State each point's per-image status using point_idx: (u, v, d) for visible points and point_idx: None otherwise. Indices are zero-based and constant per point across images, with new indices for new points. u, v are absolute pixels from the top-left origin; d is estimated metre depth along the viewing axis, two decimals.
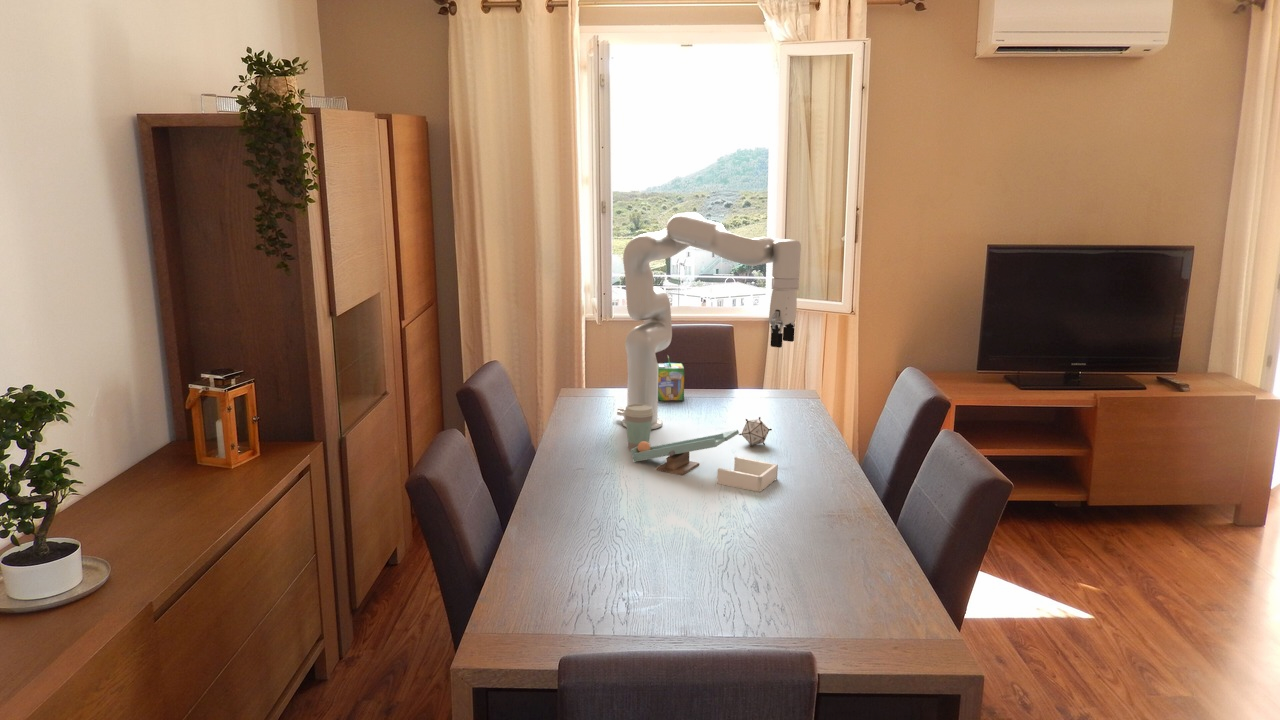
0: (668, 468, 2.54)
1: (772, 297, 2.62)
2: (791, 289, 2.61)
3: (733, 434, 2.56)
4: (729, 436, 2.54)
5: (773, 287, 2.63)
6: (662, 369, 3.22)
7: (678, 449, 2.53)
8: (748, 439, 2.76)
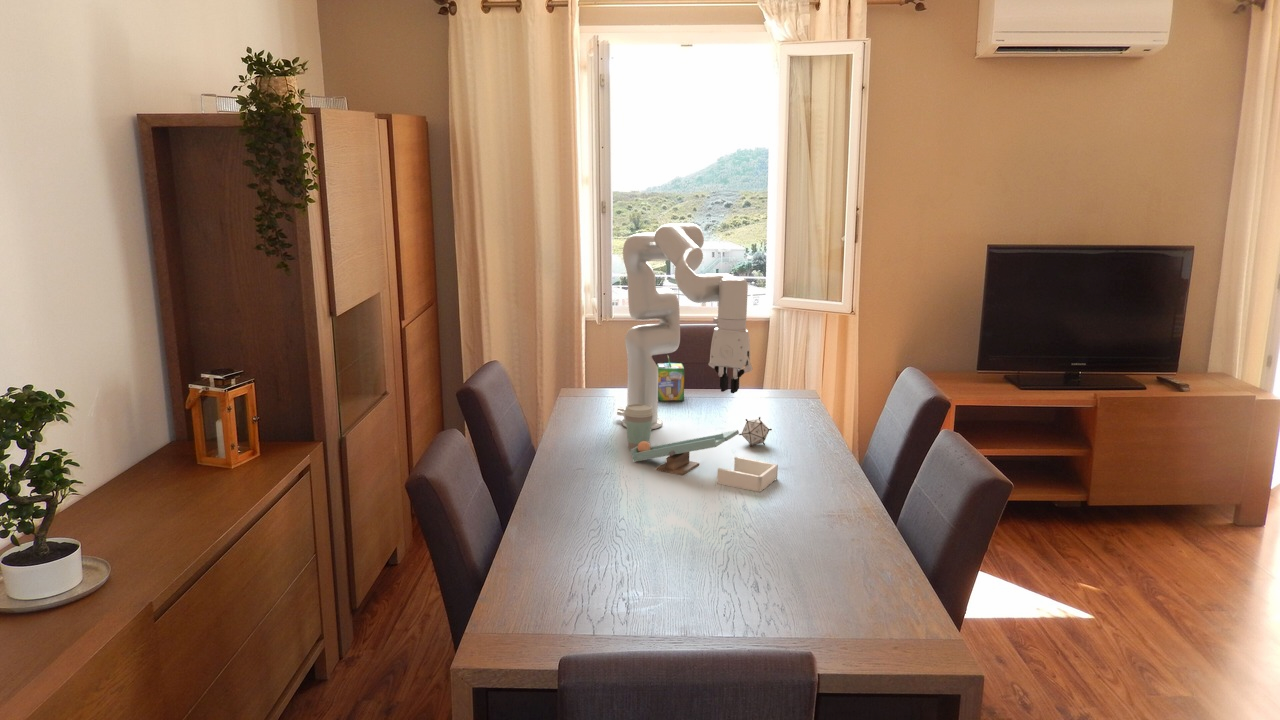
0: (668, 468, 2.54)
1: (744, 340, 2.48)
2: None
3: (733, 434, 2.56)
4: (729, 436, 2.54)
5: (737, 330, 2.48)
6: (662, 369, 3.22)
7: (678, 449, 2.53)
8: (748, 439, 2.76)
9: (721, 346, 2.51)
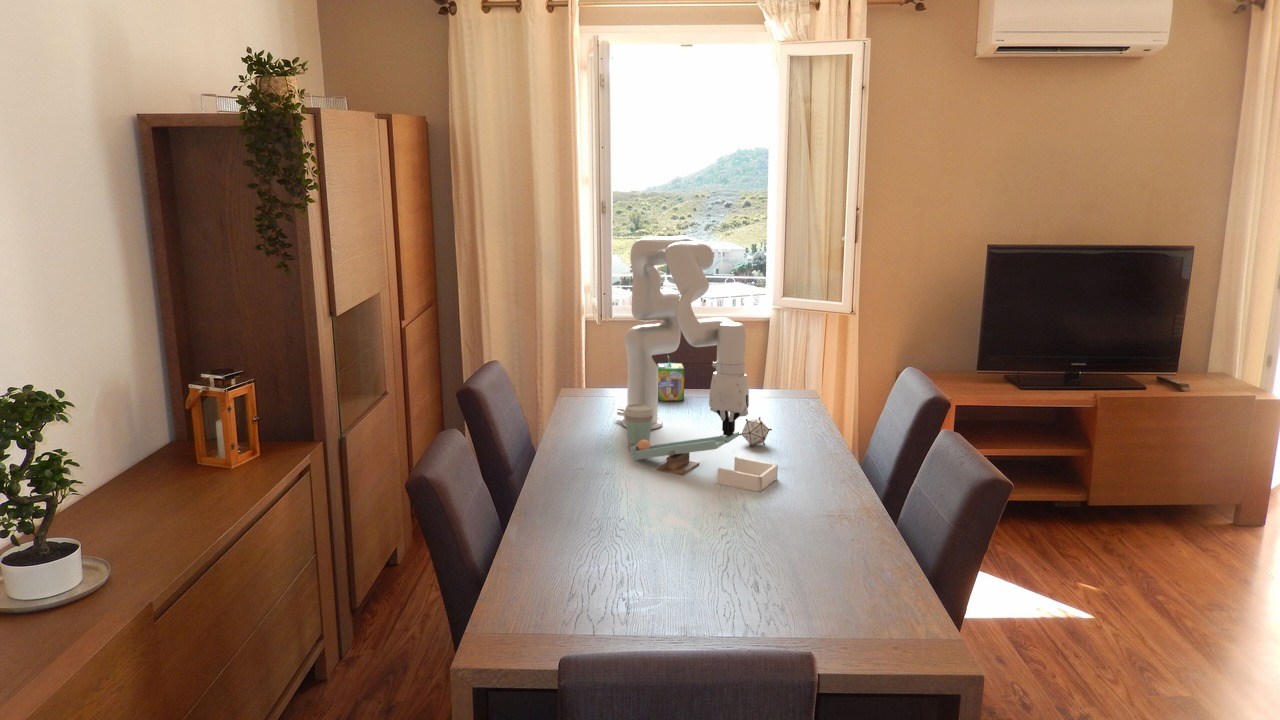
0: (668, 468, 2.54)
1: (742, 384, 2.51)
2: None
3: (734, 436, 2.56)
4: (730, 438, 2.54)
5: (736, 374, 2.50)
6: (662, 369, 3.22)
7: (678, 449, 2.53)
8: (748, 439, 2.76)
9: (720, 390, 2.53)
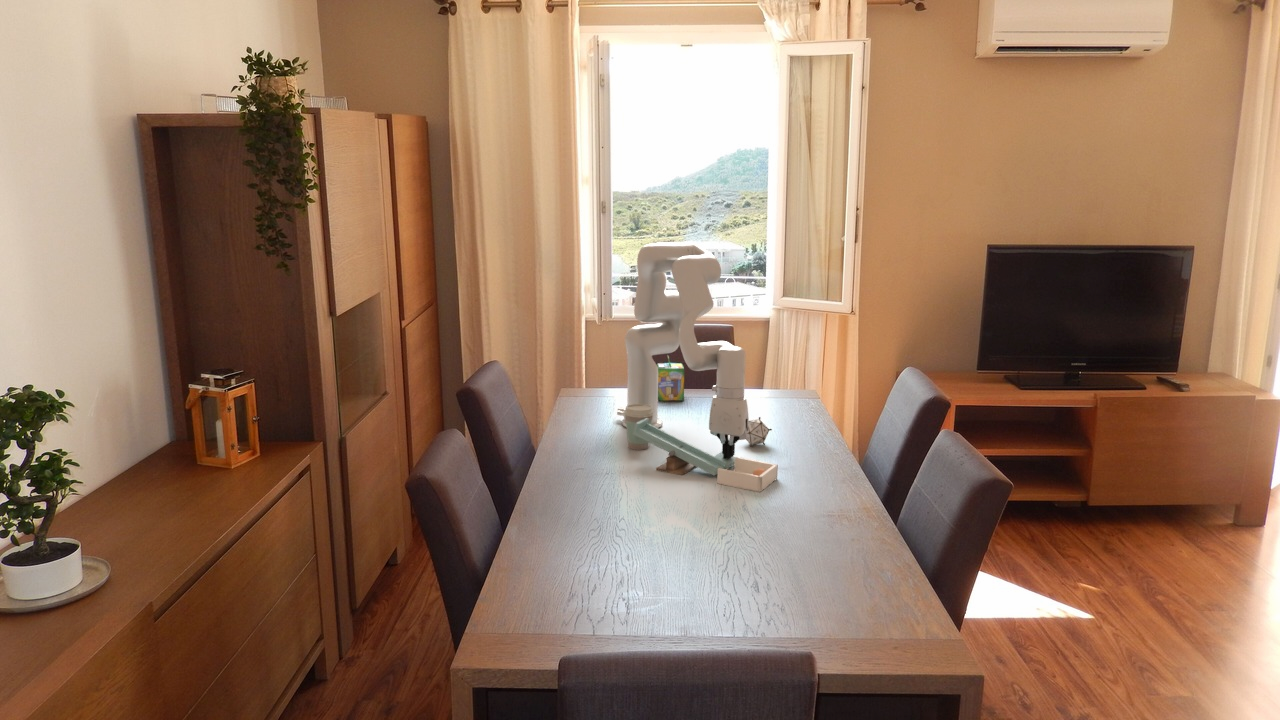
0: (668, 468, 2.54)
1: (742, 408, 2.52)
2: None
3: (733, 463, 2.58)
4: (729, 465, 2.55)
5: (736, 398, 2.52)
6: (662, 369, 3.22)
7: (679, 453, 2.53)
8: (748, 439, 2.76)
9: (720, 414, 2.54)
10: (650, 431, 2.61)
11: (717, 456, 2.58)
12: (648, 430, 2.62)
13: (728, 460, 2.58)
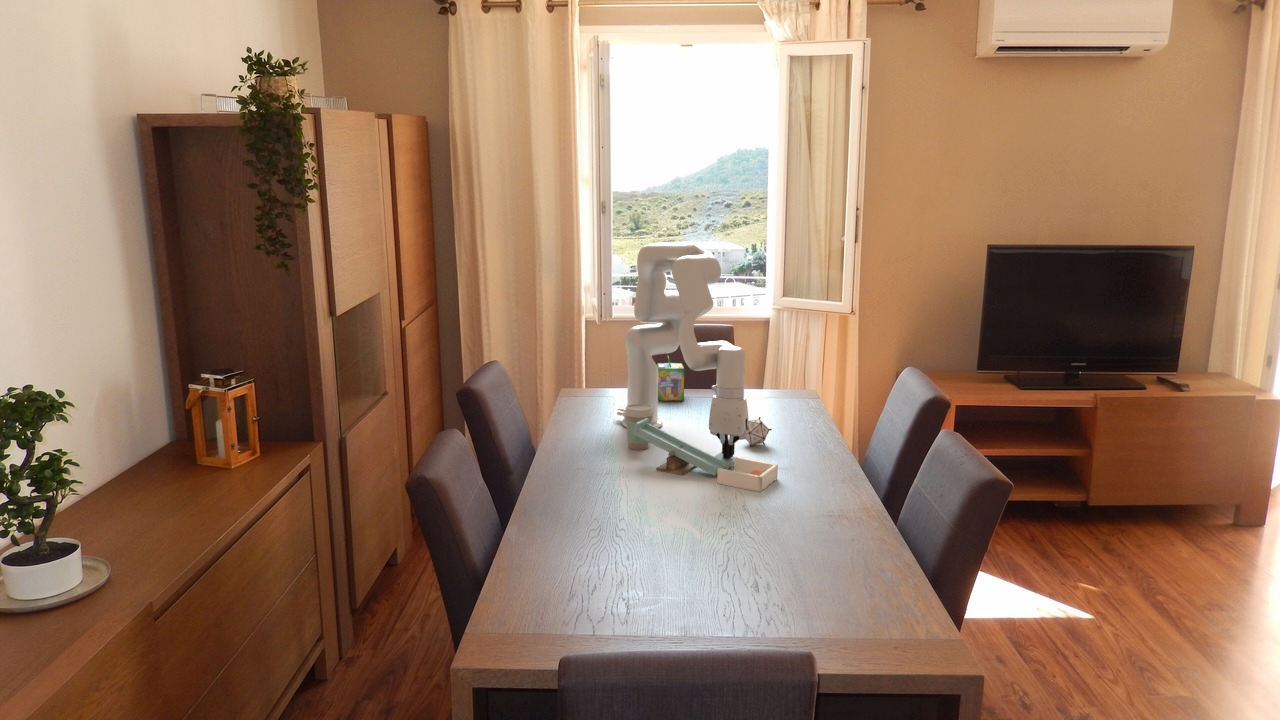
0: (668, 468, 2.54)
1: (742, 408, 2.52)
2: None
3: (733, 463, 2.58)
4: (729, 466, 2.55)
5: (736, 398, 2.52)
6: (662, 369, 3.22)
7: (679, 453, 2.53)
8: (748, 439, 2.76)
9: (720, 414, 2.54)
10: (650, 431, 2.61)
11: (717, 456, 2.58)
12: (648, 430, 2.62)
13: (728, 460, 2.58)
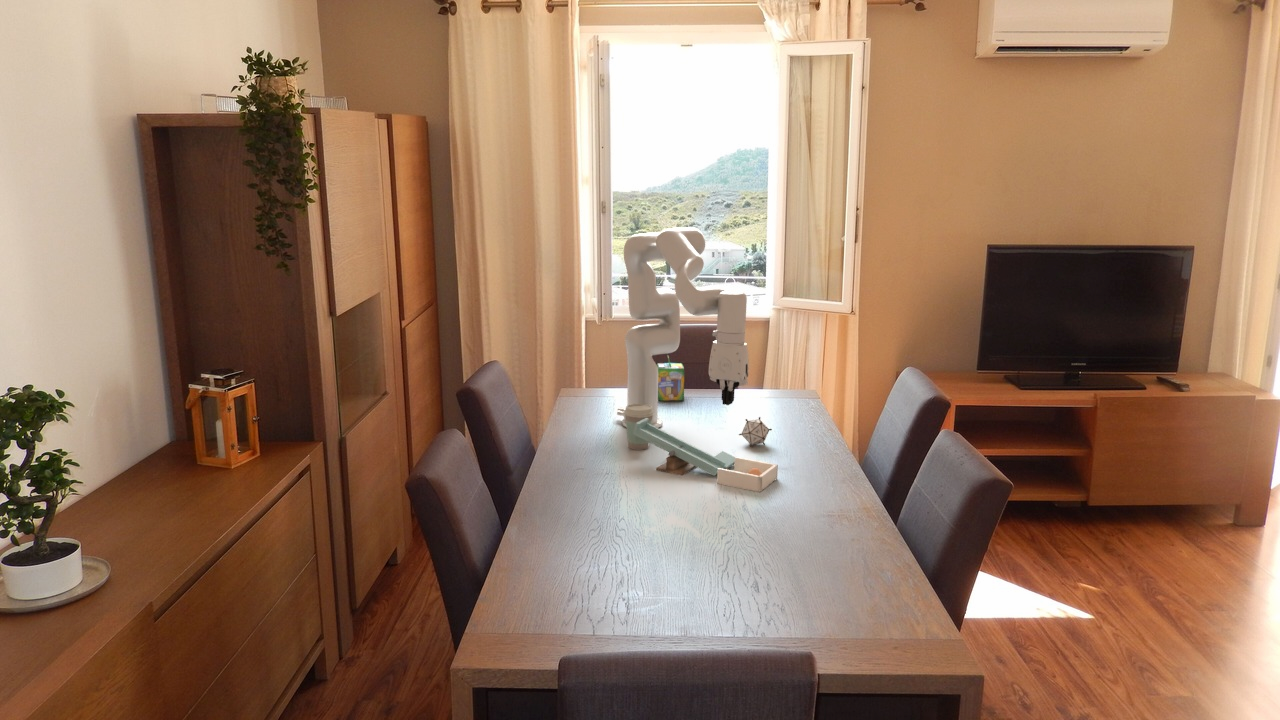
0: (668, 468, 2.54)
1: (742, 353, 2.49)
2: None
3: (733, 463, 2.58)
4: (729, 466, 2.55)
5: (736, 343, 2.49)
6: (662, 369, 3.22)
7: (679, 453, 2.53)
8: (748, 439, 2.76)
9: (720, 359, 2.52)
10: (650, 431, 2.61)
11: (717, 456, 2.58)
12: (648, 430, 2.62)
13: (728, 460, 2.58)
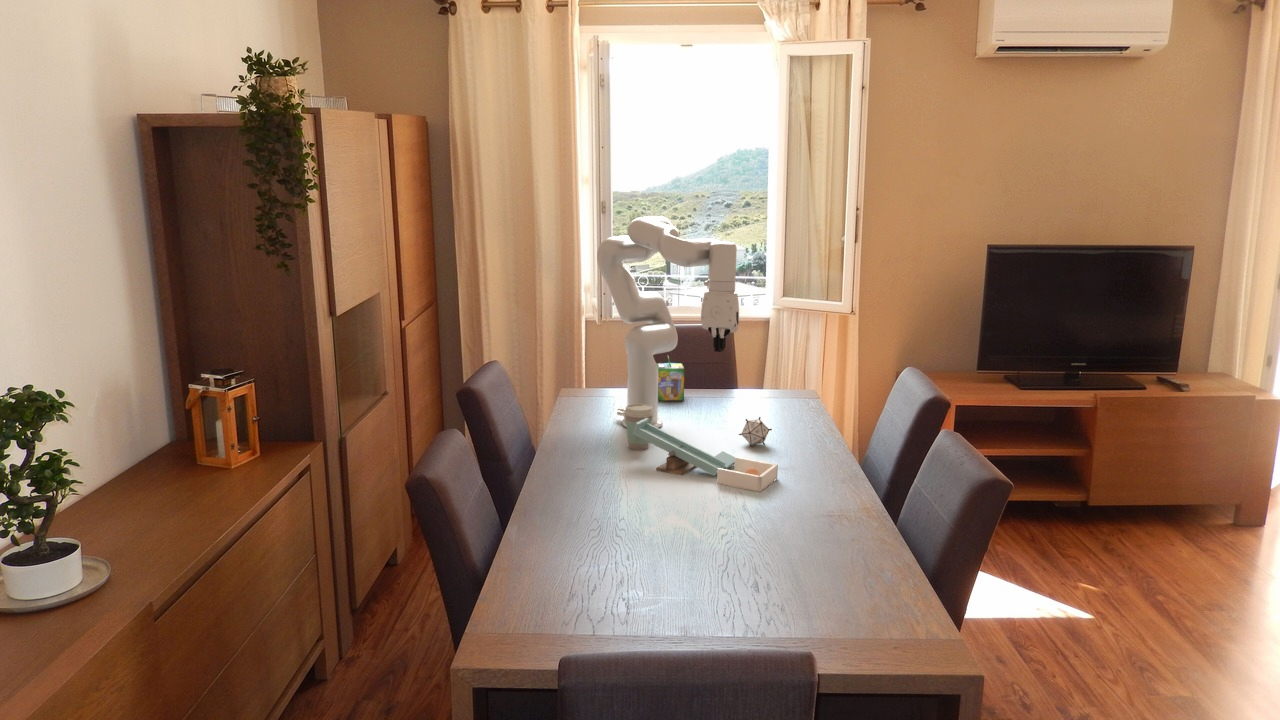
0: (668, 468, 2.54)
1: (733, 301, 2.60)
2: None
3: (733, 463, 2.58)
4: (729, 466, 2.55)
5: (727, 291, 2.60)
6: (662, 369, 3.22)
7: (679, 453, 2.53)
8: (748, 439, 2.76)
9: (711, 307, 2.63)
10: (650, 431, 2.61)
11: (717, 456, 2.58)
12: (648, 430, 2.62)
13: (728, 460, 2.58)
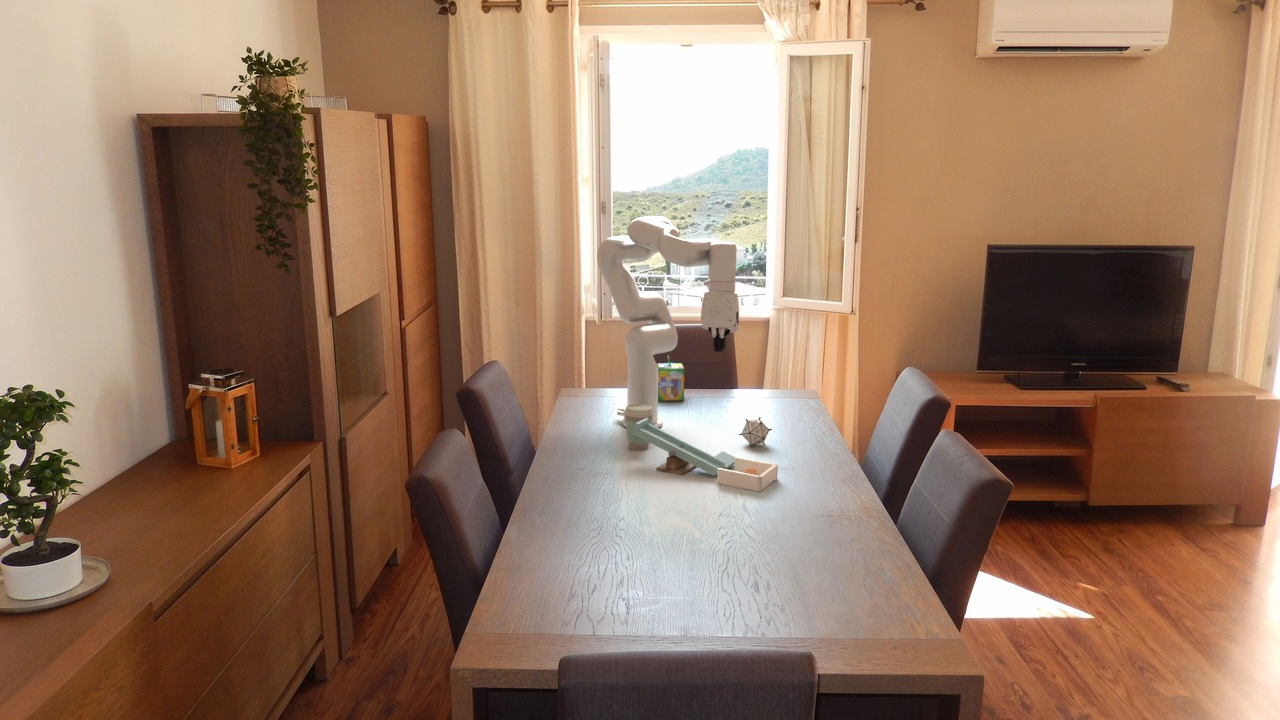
0: (668, 468, 2.54)
1: (733, 301, 2.60)
2: None
3: (733, 463, 2.58)
4: (729, 466, 2.55)
5: (727, 291, 2.60)
6: (662, 369, 3.22)
7: (679, 453, 2.53)
8: (748, 439, 2.76)
9: (711, 307, 2.63)
10: (650, 431, 2.61)
11: (717, 456, 2.58)
12: (648, 430, 2.62)
13: (728, 460, 2.58)
